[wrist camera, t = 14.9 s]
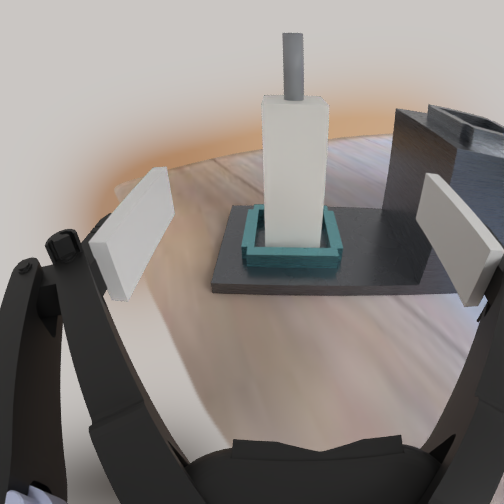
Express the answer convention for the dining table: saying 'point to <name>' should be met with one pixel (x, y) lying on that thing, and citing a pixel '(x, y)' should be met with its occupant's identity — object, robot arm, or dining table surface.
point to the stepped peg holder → (377, 219)
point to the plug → (294, 156)
